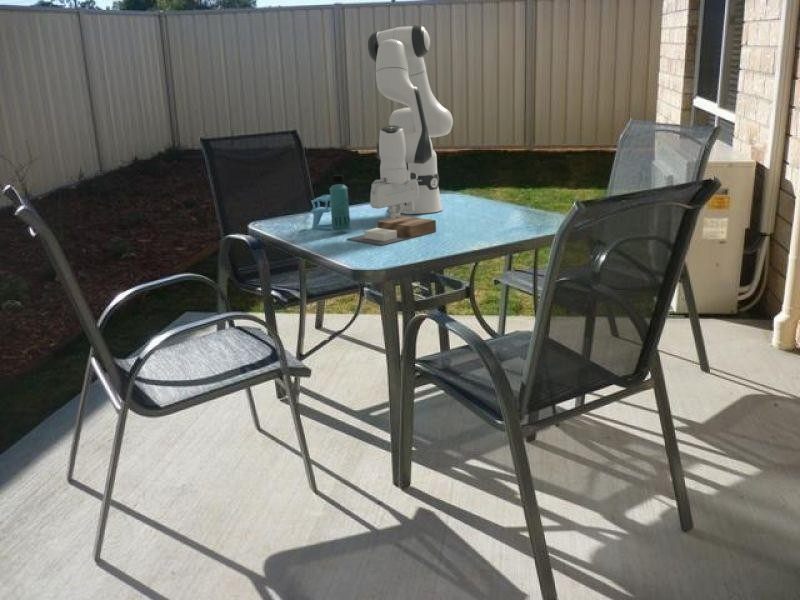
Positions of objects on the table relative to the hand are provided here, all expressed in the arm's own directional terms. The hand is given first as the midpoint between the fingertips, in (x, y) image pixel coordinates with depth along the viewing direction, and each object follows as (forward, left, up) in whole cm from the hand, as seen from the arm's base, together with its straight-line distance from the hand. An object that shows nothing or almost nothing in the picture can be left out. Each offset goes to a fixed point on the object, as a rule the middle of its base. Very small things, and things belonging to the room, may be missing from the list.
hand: (395, 217), depth 276 cm
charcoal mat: (0, -8, -6) cm, 10 cm away
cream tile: (0, -8, -3) cm, 8 cm away
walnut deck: (0, +5, -6) cm, 8 cm away
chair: (-31, -6, -6) cm, 32 cm away
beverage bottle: (-19, -8, -6) cm, 22 cm away
